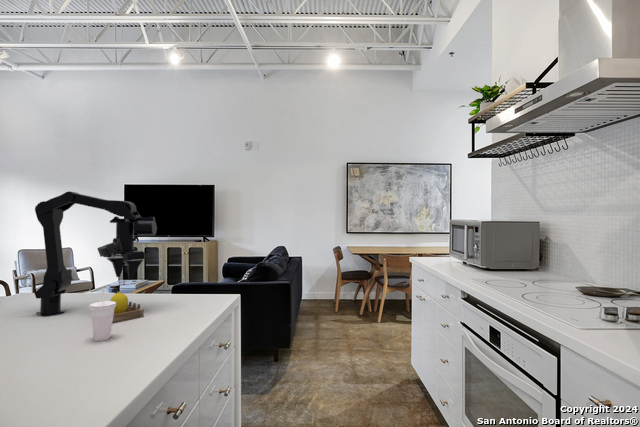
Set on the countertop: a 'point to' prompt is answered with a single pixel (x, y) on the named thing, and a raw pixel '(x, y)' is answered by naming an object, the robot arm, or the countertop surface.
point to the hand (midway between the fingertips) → (124, 278)
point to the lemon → (120, 302)
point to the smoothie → (102, 318)
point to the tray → (129, 313)
